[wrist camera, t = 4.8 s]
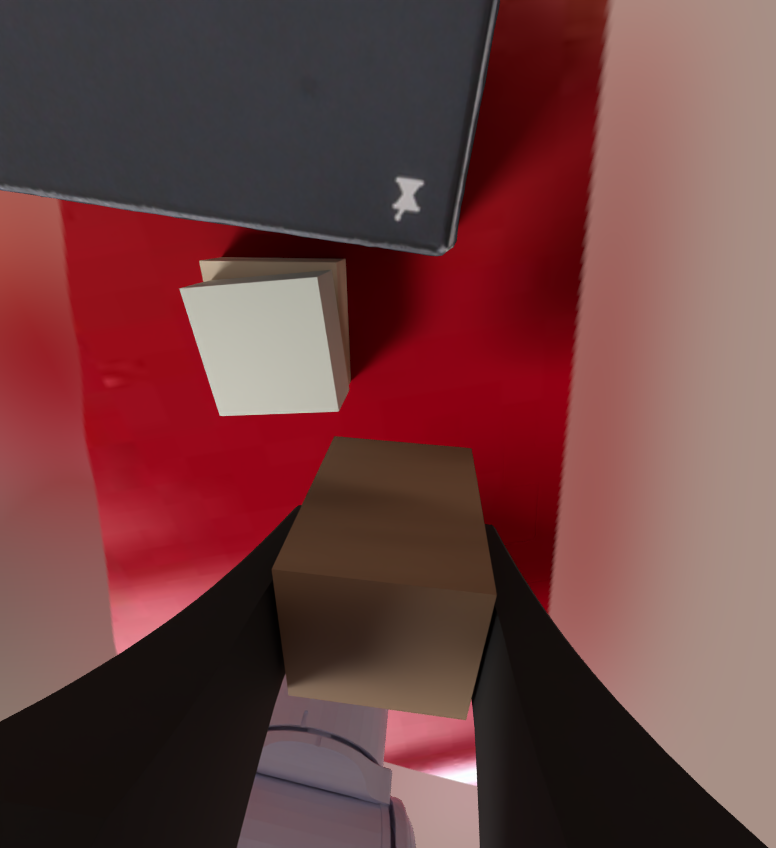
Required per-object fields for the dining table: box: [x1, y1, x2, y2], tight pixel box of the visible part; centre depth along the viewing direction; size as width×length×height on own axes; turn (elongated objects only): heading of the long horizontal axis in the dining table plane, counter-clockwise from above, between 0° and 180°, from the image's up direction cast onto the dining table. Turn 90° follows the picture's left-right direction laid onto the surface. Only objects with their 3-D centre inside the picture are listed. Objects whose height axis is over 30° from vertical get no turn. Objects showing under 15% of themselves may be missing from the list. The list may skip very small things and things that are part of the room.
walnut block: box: [272, 436, 497, 720], centre depth 10 cm, size 4×4×5 cm
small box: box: [0, 0, 500, 256], centre depth 10 cm, size 11×6×10 cm, turn 83°
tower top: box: [180, 270, 349, 416], centre depth 15 cm, size 5×5×2 cm
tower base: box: [199, 257, 351, 385], centre depth 17 cm, size 6×6×2 cm
